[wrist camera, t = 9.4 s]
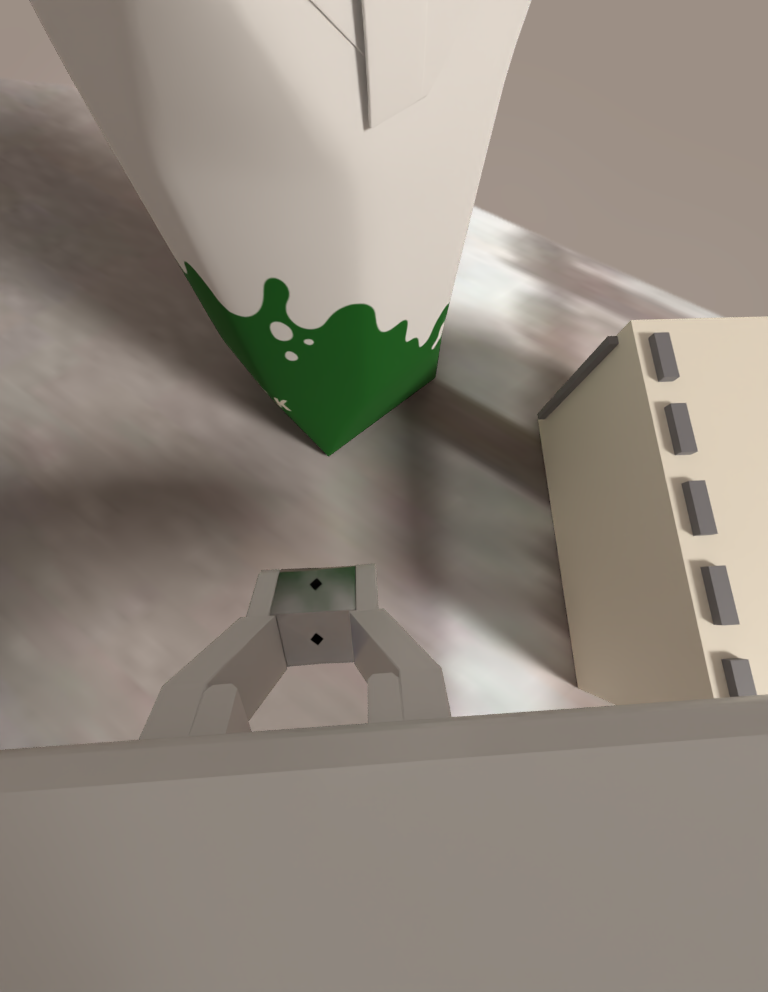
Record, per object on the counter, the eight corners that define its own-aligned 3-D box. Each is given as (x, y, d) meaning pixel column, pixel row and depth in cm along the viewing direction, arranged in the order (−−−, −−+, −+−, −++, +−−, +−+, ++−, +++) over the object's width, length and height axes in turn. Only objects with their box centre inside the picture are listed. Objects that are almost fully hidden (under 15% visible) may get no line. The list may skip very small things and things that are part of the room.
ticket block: (570, 688, 19) (722, 759, 11) (531, 419, 22) (625, 314, 14) (707, 680, 19) (957, 741, 11) (649, 415, 22) (811, 309, 14)
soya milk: (459, 380, 22) (1095, -1301, 3) (322, 483, 20) (-692, -1804, 1) (356, 271, 24) (269, -1266, 4) (222, 359, 22) (-915, -1446, 3)
